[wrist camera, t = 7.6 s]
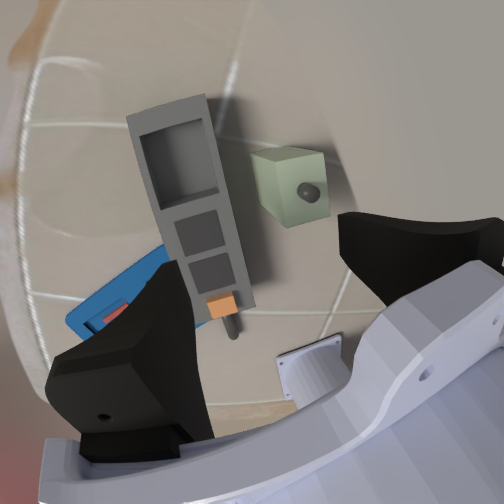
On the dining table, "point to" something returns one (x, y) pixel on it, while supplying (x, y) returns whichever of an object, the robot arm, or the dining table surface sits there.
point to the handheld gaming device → (115, 295)
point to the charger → (291, 184)
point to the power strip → (193, 206)
